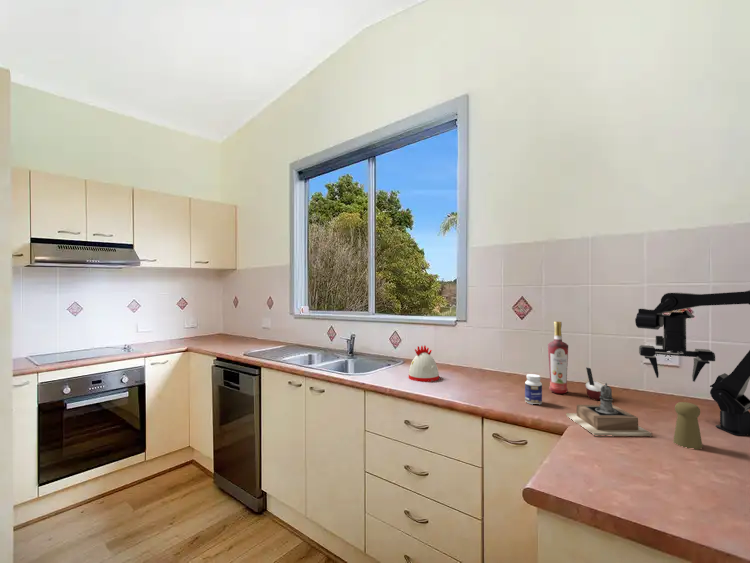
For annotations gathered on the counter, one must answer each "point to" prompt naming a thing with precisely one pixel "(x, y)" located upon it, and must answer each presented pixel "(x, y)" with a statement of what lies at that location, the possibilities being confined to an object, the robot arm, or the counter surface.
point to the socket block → (607, 422)
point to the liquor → (558, 362)
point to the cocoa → (593, 386)
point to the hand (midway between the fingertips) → (675, 379)
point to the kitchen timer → (423, 366)
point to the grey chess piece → (606, 402)
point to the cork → (687, 426)
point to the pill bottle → (533, 389)
